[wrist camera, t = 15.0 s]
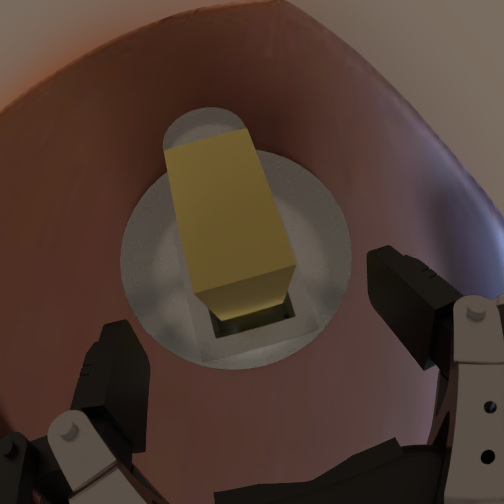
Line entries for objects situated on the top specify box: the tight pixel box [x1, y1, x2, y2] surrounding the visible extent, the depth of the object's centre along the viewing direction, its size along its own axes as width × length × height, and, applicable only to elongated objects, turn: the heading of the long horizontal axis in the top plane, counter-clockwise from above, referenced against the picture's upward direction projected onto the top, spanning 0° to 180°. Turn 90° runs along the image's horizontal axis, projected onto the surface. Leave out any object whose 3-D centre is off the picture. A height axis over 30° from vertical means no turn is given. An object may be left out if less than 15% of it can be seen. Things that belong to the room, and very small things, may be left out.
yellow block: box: [164, 128, 296, 323], centre depth 15 cm, size 5×3×12 cm, turn 16°
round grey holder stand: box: [120, 107, 352, 370], centre depth 19 cm, size 16×16×9 cm
